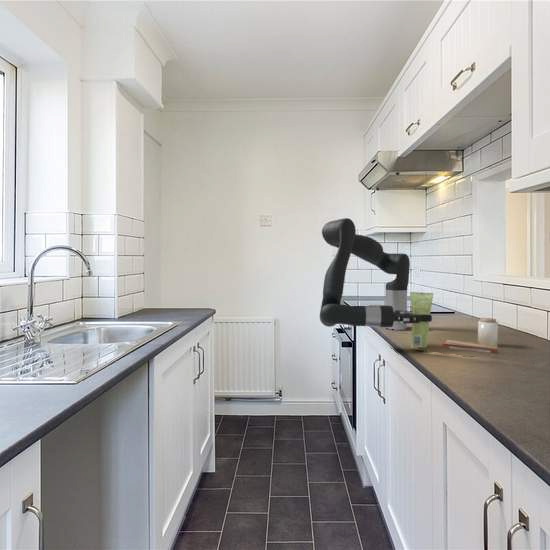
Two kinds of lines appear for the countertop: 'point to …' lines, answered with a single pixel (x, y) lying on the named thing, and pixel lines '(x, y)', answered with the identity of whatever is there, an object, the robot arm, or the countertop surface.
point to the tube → (420, 330)
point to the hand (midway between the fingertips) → (428, 317)
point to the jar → (487, 332)
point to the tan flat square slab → (469, 346)
